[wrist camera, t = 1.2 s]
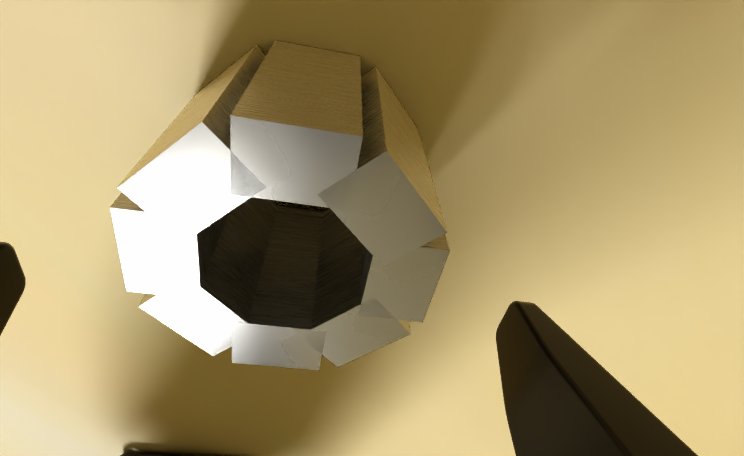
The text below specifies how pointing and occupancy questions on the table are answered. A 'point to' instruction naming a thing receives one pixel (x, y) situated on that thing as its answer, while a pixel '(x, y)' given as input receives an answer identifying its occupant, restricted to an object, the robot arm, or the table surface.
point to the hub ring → (285, 214)
